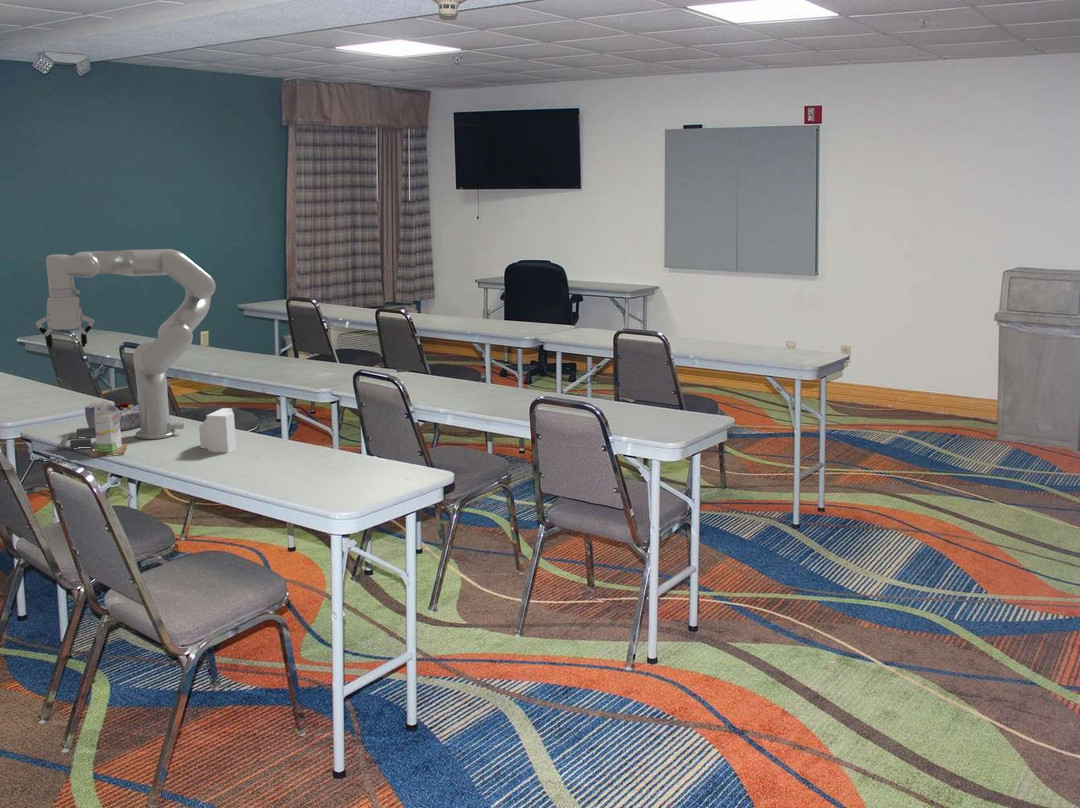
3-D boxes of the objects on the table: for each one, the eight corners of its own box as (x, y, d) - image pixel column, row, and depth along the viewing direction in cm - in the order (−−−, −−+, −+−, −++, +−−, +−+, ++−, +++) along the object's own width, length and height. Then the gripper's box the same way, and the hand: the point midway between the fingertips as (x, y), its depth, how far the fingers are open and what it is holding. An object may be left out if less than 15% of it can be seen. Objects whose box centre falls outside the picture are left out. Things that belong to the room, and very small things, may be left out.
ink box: (112, 452, 332) (108, 407, 329) (96, 452, 332) (92, 407, 329) (122, 445, 341) (118, 401, 337) (107, 445, 340) (103, 401, 337)
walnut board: (127, 445, 343) (127, 443, 343) (124, 454, 332) (123, 453, 332) (94, 447, 340) (94, 445, 340) (89, 457, 329) (89, 455, 329)
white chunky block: (228, 453, 335) (225, 416, 332) (195, 451, 337) (192, 414, 334) (243, 444, 345) (241, 409, 342) (212, 443, 347) (209, 407, 344)
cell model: (79, 401, 358) (126, 392, 376) (81, 432, 360) (128, 421, 378) (106, 405, 352) (152, 395, 370) (108, 436, 355) (154, 425, 372)
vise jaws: (97, 435, 356) (96, 427, 355) (90, 448, 340) (90, 439, 339) (66, 437, 353) (65, 429, 352) (58, 450, 337) (57, 441, 336)
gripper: (93, 291, 340) (97, 344, 343) (34, 293, 335) (40, 346, 339) (90, 294, 333) (95, 347, 336) (30, 295, 328) (36, 350, 332)
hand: (67, 347), depth 338 cm, fingers open, 9 cm apart
